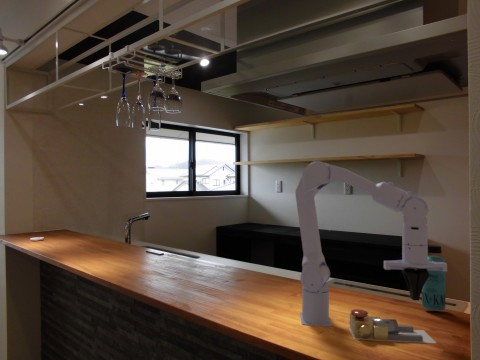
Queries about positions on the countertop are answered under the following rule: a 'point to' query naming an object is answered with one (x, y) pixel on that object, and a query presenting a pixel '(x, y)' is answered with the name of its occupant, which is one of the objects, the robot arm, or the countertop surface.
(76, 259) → the countertop surface
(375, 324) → the metal cylinder
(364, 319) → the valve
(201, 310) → the countertop surface
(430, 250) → the beverage bottle
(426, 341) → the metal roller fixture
